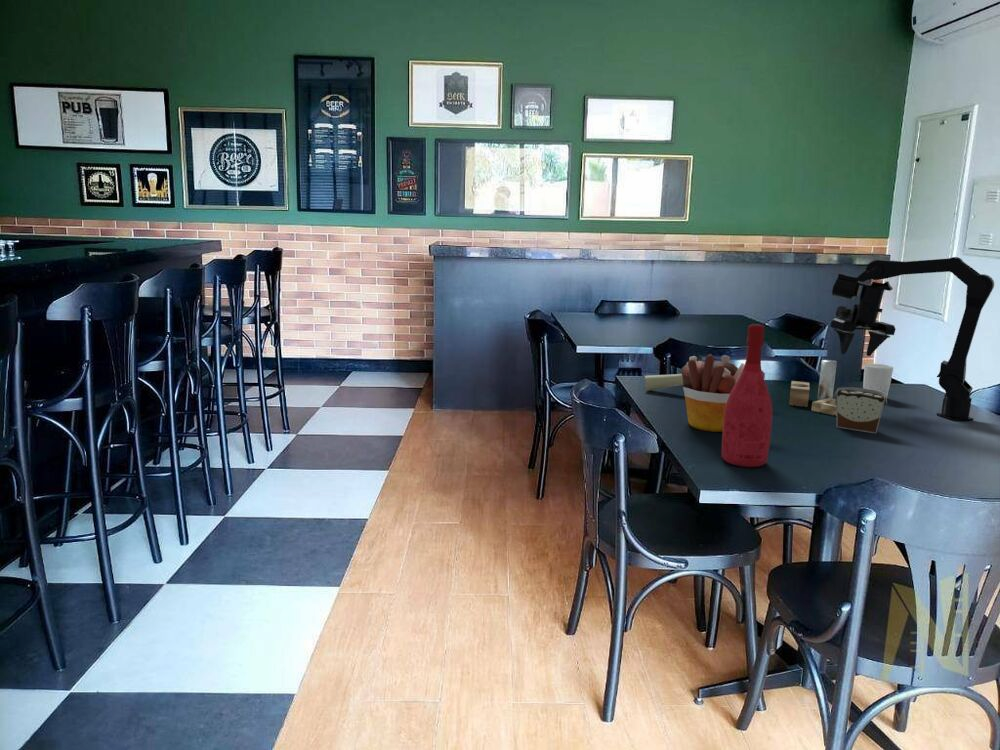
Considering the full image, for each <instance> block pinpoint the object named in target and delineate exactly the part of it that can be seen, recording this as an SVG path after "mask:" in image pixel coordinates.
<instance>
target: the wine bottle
mask: <svg viewBox="0 0 1000 750" xmlns="http://www.w3.org/2000/svg"><path fill="white" fill-rule="evenodd" d="M765 329H766V328H765V326H764V325H763V324H759V323H753V324H750V325H748V327H747V338H746V339H747V340H746V346H747V351H746V352H747V353H746V359H745V363H744V364H745V366H744V369H743V371H742V373H741V375H740V377H739V379H738V380H737V382H736V384H735V386H734V387H733V389H732V391H731V393H730V395H729V398H728V400H727V403H726V406H725V412H724V421H723V432H722V436H721V458H722V459H723V461H725V462H726V463H727V464H731V465H734V466H736V467H741V468H742V467H744V468H757V467H762V466H764V465H765V464H766V463H767V461H768V457H769V452H770V444H771V436H772V433H771V432H772V428H773V404H772V399H771V396H770V392H769V388H768V387H767V384H766V381H765V380H766V379H765V378H764V377H763V374H762V348H763V346H764V336H765V335H764V334H765Z"/></svg>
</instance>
